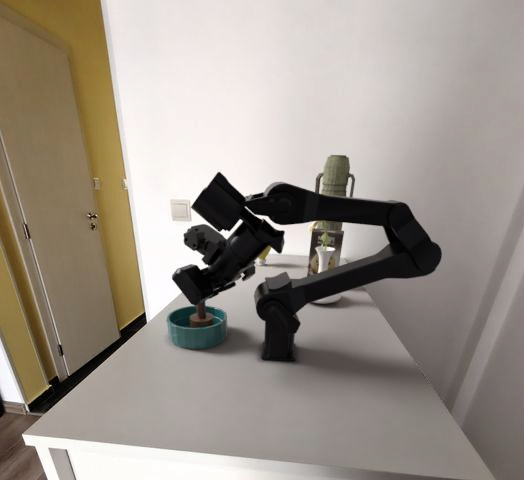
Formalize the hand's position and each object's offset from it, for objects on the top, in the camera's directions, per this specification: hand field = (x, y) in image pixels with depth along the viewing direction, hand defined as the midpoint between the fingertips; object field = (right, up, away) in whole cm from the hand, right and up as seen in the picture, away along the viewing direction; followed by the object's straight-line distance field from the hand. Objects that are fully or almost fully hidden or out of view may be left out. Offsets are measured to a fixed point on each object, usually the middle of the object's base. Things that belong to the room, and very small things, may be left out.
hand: (195, 298), depth 66 cm
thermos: (+34, +16, +49) cm, 62 cm away
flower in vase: (+28, +3, +25) cm, 38 cm away
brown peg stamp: (+1, -6, +3) cm, 7 cm away
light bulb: (+13, +21, +56) cm, 61 cm away
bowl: (0, -7, +4) cm, 8 cm away
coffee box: (+31, +10, +37) cm, 50 cm away
